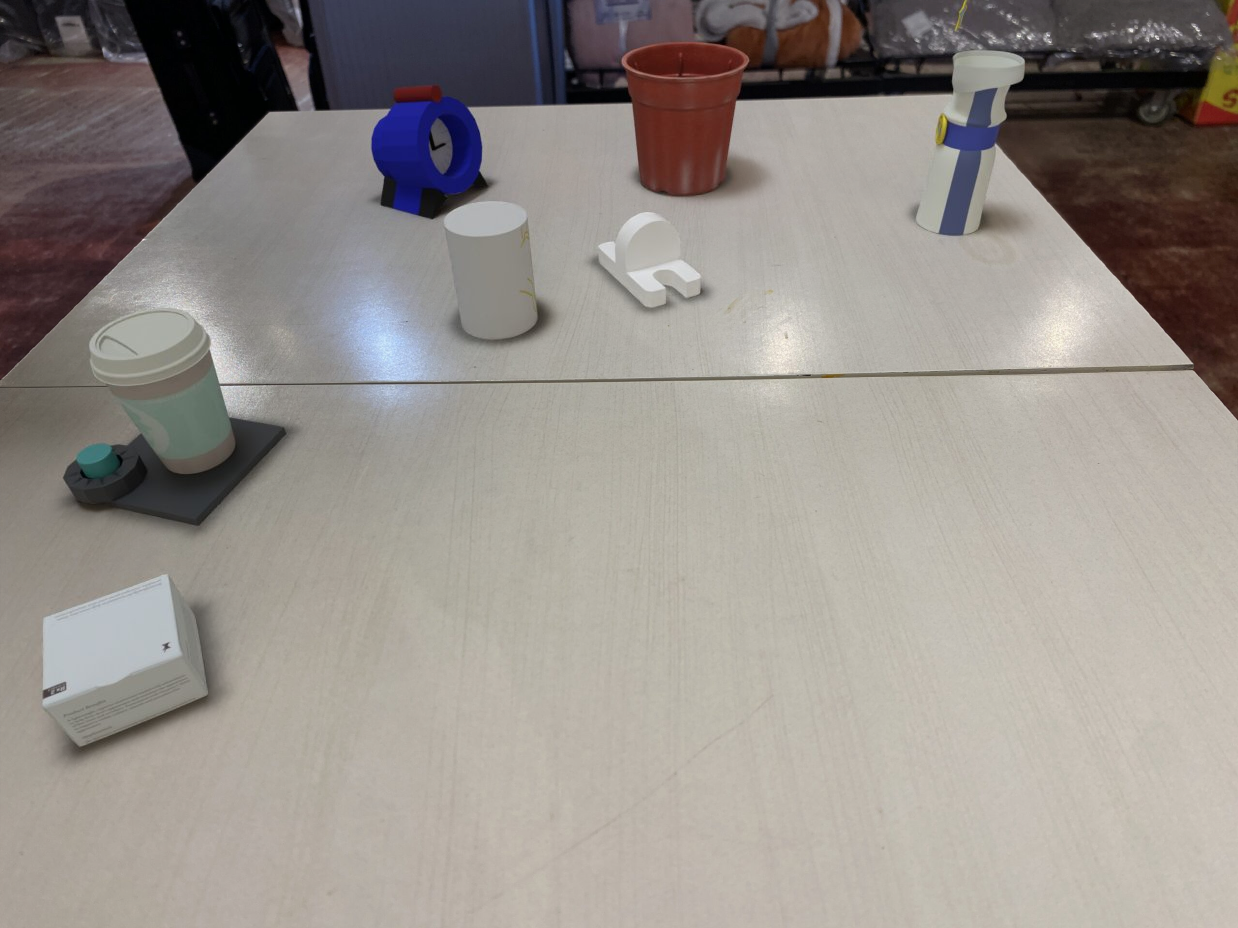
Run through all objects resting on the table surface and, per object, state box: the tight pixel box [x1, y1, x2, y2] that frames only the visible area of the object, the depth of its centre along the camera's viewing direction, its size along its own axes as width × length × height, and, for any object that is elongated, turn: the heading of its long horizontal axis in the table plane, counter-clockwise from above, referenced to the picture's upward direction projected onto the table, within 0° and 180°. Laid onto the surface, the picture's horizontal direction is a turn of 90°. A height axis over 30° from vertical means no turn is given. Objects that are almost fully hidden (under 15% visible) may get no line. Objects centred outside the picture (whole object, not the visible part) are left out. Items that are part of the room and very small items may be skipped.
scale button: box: [75, 442, 120, 479], centre depth 65 cm, size 3×3×2 cm
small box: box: [41, 573, 209, 747], centre depth 52 cm, size 8×8×5 cm
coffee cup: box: [88, 307, 236, 474], centre depth 65 cm, size 8×9×12 cm
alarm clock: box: [370, 84, 490, 220], centre depth 108 cm, size 12×12×15 cm
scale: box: [62, 416, 287, 526], centre depth 68 cm, size 13×13×3 cm
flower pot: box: [621, 41, 750, 197], centre depth 110 cm, size 16×16×16 cm
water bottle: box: [915, 0, 1026, 236], centre depth 94 cm, size 8×9×25 cm
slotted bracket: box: [597, 211, 702, 308], centre depth 90 cm, size 13×7×8 cm, turn 27°
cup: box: [443, 200, 539, 340], centre depth 83 cm, size 8×8×12 cm
